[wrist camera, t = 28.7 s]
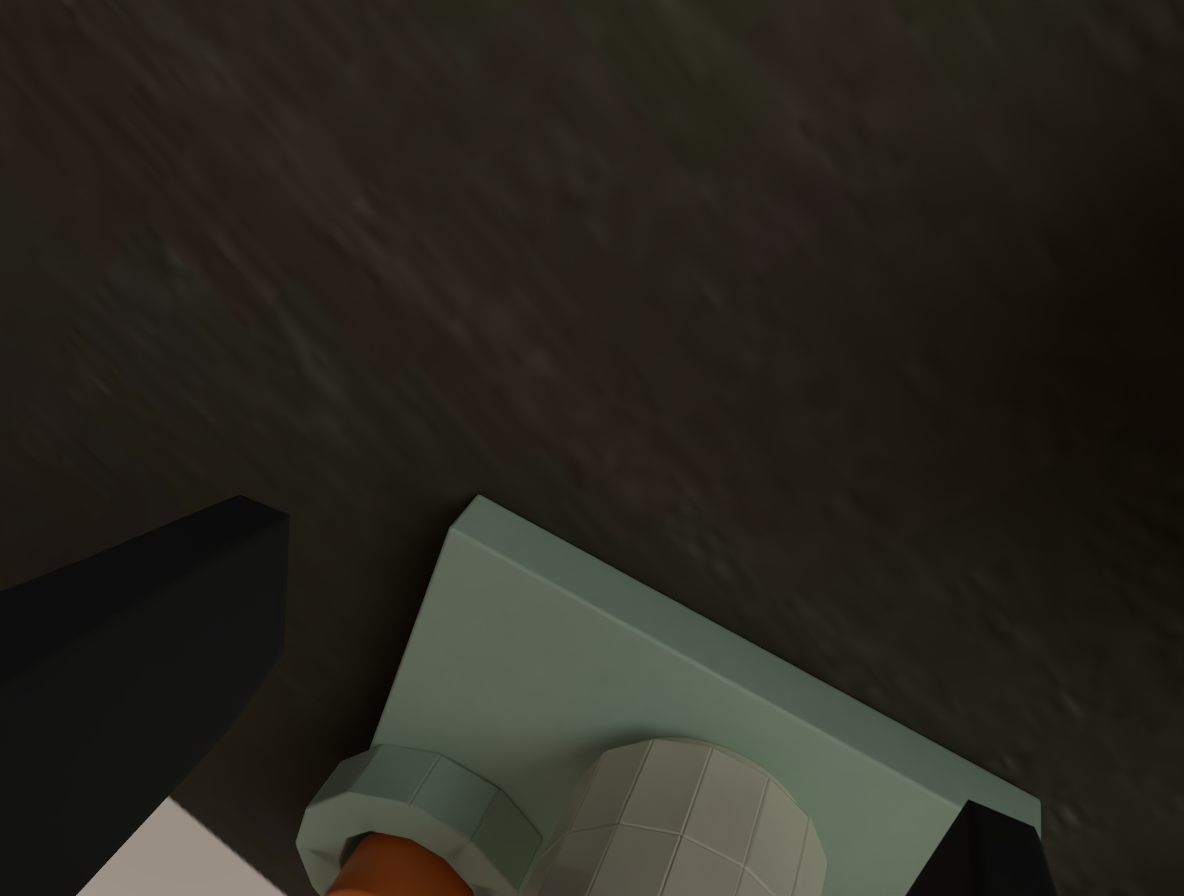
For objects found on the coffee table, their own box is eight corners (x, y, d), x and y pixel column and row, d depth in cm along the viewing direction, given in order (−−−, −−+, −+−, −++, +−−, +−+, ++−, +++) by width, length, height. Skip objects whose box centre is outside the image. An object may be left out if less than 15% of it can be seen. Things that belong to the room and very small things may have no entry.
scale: (342, 801, 29) (280, 889, 27) (455, 479, 22) (384, 559, 20) (770, 1053, 28) (746, 1169, 25) (1042, 799, 21) (1044, 926, 18)
